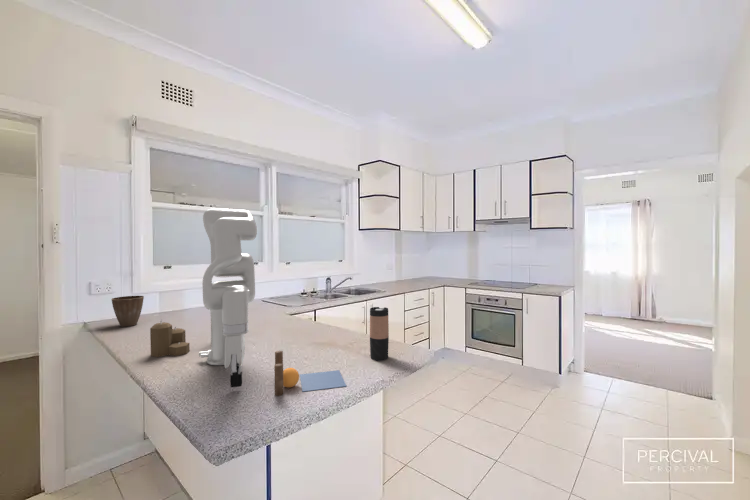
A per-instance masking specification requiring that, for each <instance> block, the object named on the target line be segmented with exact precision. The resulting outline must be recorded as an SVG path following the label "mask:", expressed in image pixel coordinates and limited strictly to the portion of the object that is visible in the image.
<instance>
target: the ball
mask: <svg viewBox="0 0 750 500" xmlns="http://www.w3.org/2000/svg"><path fill="white" fill-rule="evenodd" d="M299 380H300V374H299V372H298V370H297V369H296V368H294V367H288V368H285V369H283V387H285V388H293V387H295V386H296V385H298V382H299Z"/></svg>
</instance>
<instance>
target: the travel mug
mask: <svg viewBox="0 0 750 500" xmlns="http://www.w3.org/2000/svg"><path fill="white" fill-rule="evenodd" d="M389 328H390V327H389V308H388V307H382V308H380V307H379V306H373V307H370V309H369V351H370V356H369V357H370V359H371V360H372V361H377V362H378V361H386V360H387V359H388V358H389V343H390V342H389V339H390V337H389V336H390V335H389V334H390V333H389Z"/></svg>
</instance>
